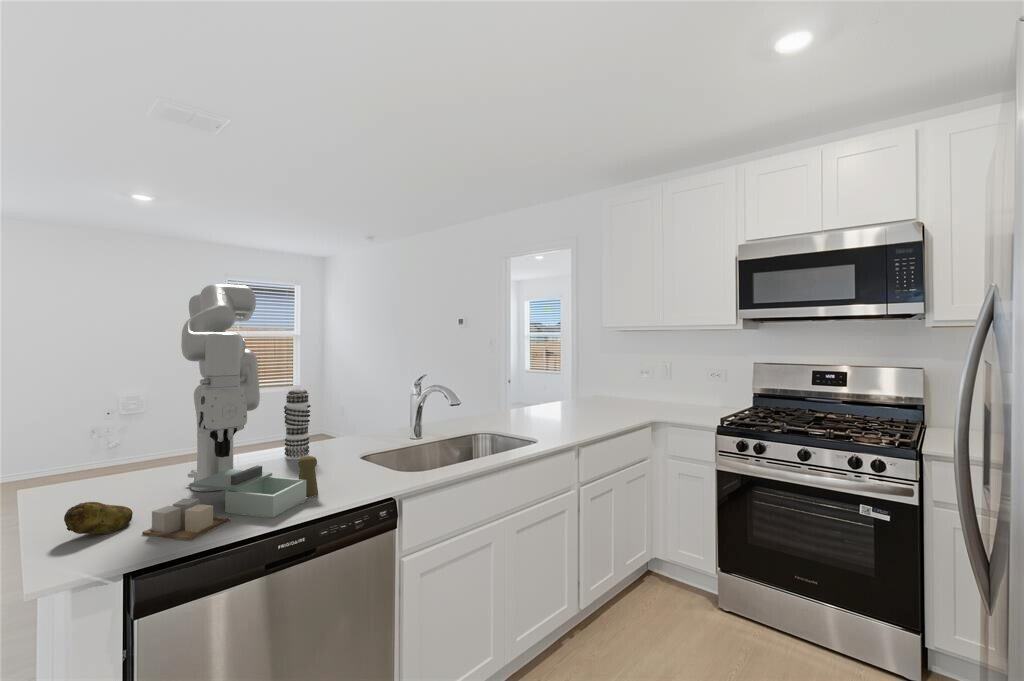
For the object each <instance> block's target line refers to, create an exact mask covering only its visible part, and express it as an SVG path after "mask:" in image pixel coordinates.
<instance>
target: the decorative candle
mask: <svg viewBox="0 0 1024 681" xmlns="http://www.w3.org/2000/svg"><path fill="white" fill-rule="evenodd" d="M285 395H286V398H285V399H286V402H285V405H284V407H283V409H284V410H283V413H284V414H285V415H284V421H283V422H284V427H285V432H286V433H285V438H284V441H285V442H284V446H285V447H284V451H285V452H284V455H285V456H284V459H286V460H299V459H300V458H302V457H305V456H310V446H309V444H310V441H309V440H310V435H309V434H310V433H309V426H310V421H311V420H310V419H309V417H311V414H309V413H311V410H310V408H311V406H312V405H311V404H310V401H309V395H310V393H309V392H308V391H307V390H306V389H303V388H299V389H298V388H296V389H290V390H288V392H287V393H286V394H285Z"/></svg>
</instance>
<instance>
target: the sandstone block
mask: <svg viewBox="0 0 1024 681" xmlns="http://www.w3.org/2000/svg"><path fill="white" fill-rule="evenodd" d="M213 516H214V505H212V504H211V505H210V504H209V505H208V504H200V503H199V504H198V505H196V506H194V507H191V508H189V509H187V510H185V531H189V532H199V531H201V530H203V529H205V528H207V527H210V526H212V525H213Z"/></svg>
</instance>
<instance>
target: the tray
mask: <svg viewBox="0 0 1024 681" xmlns="http://www.w3.org/2000/svg"><path fill="white" fill-rule="evenodd" d="M230 521H231V518H230V517H223V516H215V515H213V525H212V526H210V527H207V528H205V529H203V530H201V531H199V532H189V531H185V525H181V529H178V530H176V531H173V532H171V533H161V532H153V531H152V527H151V528H148V529H146V530H143V531H142V533H141V534H142V536H147V537H148V536H149V537H150V536H151V537H158V538H165V539H166V538H167V539H173V540H183V541H189V542H190V541H193V540H194V539H196V538H199V537H201V536H202V535H205V534H206V533H208V532H211V531H212V530H214V529H216V528H218V527H220V526H223V525H224V524H226V523H228V522H230Z"/></svg>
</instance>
